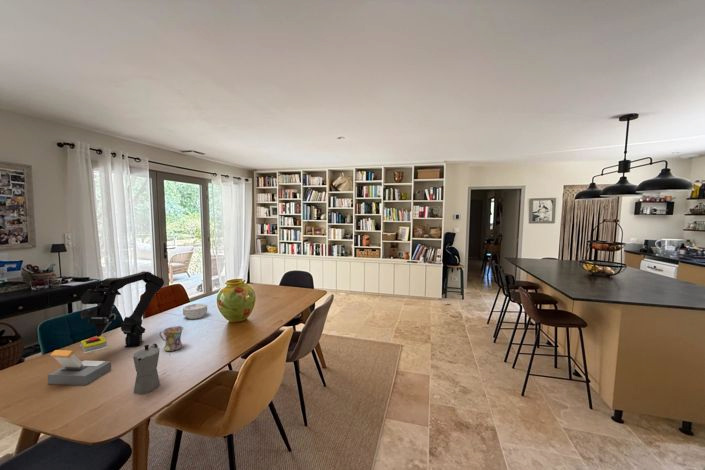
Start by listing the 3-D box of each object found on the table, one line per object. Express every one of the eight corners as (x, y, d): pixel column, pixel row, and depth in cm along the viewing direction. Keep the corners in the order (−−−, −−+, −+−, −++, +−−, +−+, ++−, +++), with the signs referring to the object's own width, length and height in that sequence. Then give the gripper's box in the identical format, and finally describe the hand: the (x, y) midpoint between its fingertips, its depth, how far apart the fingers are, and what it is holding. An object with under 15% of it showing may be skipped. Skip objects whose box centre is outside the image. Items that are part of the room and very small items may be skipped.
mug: (187, 345, 156) (187, 326, 155) (176, 352, 146) (176, 333, 146) (165, 344, 156) (165, 325, 155) (153, 352, 147) (153, 332, 146)
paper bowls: (193, 312, 209) (193, 302, 208) (211, 314, 207) (211, 303, 206) (177, 319, 194) (177, 308, 193) (197, 321, 192) (197, 310, 191)
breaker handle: (68, 364, 123) (55, 350, 117) (85, 364, 123) (72, 350, 117) (64, 369, 121) (49, 355, 115) (80, 369, 121) (67, 355, 115)
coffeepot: (152, 395, 111) (152, 351, 110) (125, 398, 109) (124, 353, 108) (168, 374, 126) (168, 335, 125) (144, 377, 124) (144, 337, 123)
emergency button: (102, 332, 160) (108, 340, 150) (102, 340, 160) (108, 348, 150) (79, 337, 152) (84, 346, 143) (79, 345, 153) (84, 354, 143)
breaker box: (76, 368, 129) (76, 359, 129) (110, 370, 129) (110, 360, 128) (47, 383, 117) (47, 373, 117) (85, 385, 117) (85, 375, 116)
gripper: (92, 301, 145) (84, 333, 141) (77, 304, 128) (68, 340, 125) (119, 302, 149) (112, 333, 146) (108, 305, 133) (99, 340, 130)
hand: (98, 336), depth 137 cm, fingers closed
